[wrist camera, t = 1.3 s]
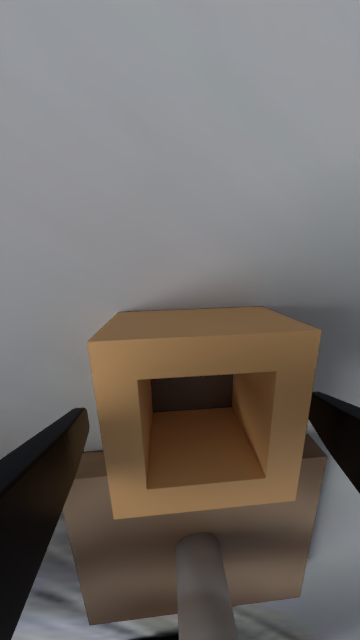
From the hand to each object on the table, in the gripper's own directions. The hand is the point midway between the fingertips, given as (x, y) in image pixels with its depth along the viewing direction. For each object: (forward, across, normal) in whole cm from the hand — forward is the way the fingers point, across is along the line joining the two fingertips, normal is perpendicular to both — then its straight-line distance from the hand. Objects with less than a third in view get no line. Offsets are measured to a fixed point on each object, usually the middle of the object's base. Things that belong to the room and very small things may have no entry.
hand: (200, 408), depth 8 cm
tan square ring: (+3, 0, 0) cm, 3 cm away
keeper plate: (+3, 0, +10) cm, 11 cm away
